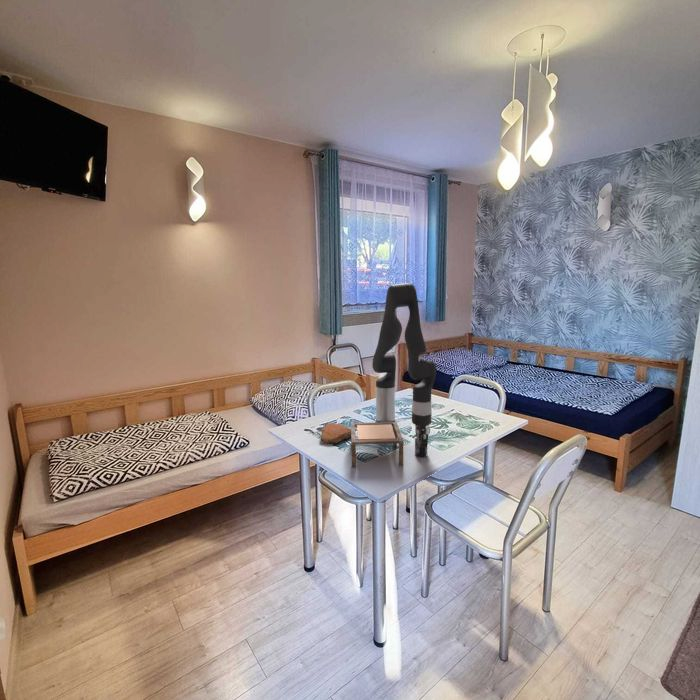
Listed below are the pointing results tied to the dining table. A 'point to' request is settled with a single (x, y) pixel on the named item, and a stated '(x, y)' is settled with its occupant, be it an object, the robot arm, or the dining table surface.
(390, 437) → the trapdoor
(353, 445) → the trapdoor frame
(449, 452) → the dining table surface
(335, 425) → the reddish brown rock
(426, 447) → the cylinder
